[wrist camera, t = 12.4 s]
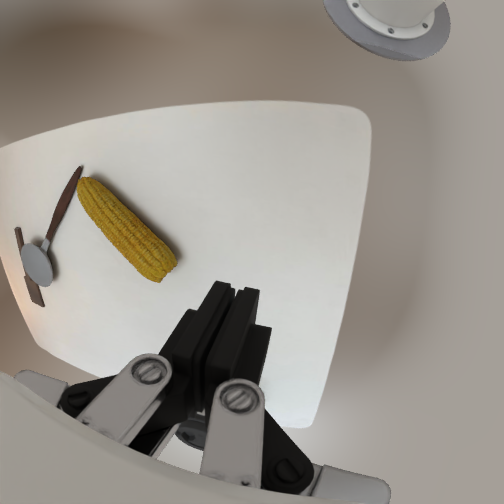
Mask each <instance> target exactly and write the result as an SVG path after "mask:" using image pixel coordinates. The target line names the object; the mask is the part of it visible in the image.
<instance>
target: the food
mask: <svg viewBox="0 0 504 504" xmlns="http://www.w3.org/2000/svg"><path fill="white" fill-rule="evenodd" d="M77 193H78V195H77V196H78V198H79V201H80V202H81V204H82V206H83V207H84V209H85V211H86V213H87V214H88V215H89V217H91V219H92V220H93V221H94V222H95V224H96V225H97V226H98V228H100V229H101V231H102V232H103V233H104V235H105V236H106V237H107V238H108V240H110V242H112V244H113V245H114V246H115V247H116V248H117V249H118V250H119V251H120V253H122V255H123V256H124V257H125V258H126V259H127V260H128V261H129V262H130V263H131V264H132V265H133V266H134V267H135V268H136V269H137V271H138V272H139V273H140V274H141V275H143V276H144V277H146V278H147V279H149V280H151V281H154V282H157V283H160V282H161V280H162V279H163V278H164V277H165V276H166V275H167V273H169V272H171V270H173V268H174V267H176V266H177V261H176V258H175V256H174V254H173V252H172V251H171V250H170V249H169V247H168V246H167V245H166V244H165V243H164V242H163V241H162V240H161V239H159V238H158V237H157V236H156V235H155V234H154V233H153V232H152V231H151V230H150V229H149V228H147V226H146V225H144V223H142V221H140V220H139V219H138V217H136V216H135V214H133V213H132V212H131V211H130V210H128V209H127V207H126V206H124V205H123V204H122V203H121V202H120V201H119V200H118V199H117V198H116V196H114V195H113V194H112V193H111V192H110V191H109V190H108V189H107V188H105V187H104V185H102V184H101V183H100V182H98V181H96V180H95V179H92V178H91V177H87V178H86V177H82V178H81V179H79V180H78V183H77Z"/></svg>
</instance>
